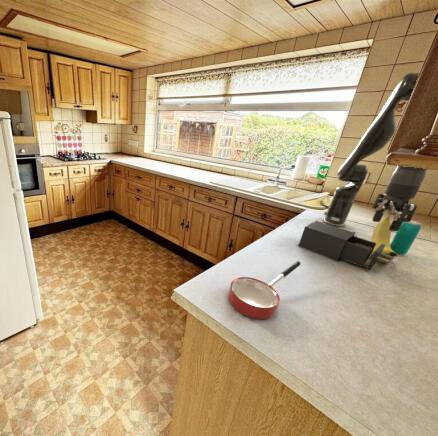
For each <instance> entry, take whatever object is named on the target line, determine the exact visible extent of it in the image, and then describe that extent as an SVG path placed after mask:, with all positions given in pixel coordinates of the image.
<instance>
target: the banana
mask: <svg viewBox="0 0 438 436" xmlns="http://www.w3.org/2000/svg"><path fill="white" fill-rule="evenodd" d="M392 215H393V214H392V212H391V211H390V210H387V215H386V216H385V218H384V219H381V220H380V222H377V224H376V225H375V226H374V229H373V231H372V234H371V240H370V241H371V242H374V243H376V245H375V247H374V249H373V252H372V255H373V254H374V252H375V251H376V249H377V248H378V247H379V246H380V245H381V244H384V245H385V247H384V249H383V251H382V253H383V254H386V255H389V256H392V257H394V256H396V257H397V258H398V259H399V257H398V256H399V255H397V254H396V252H394V251H392V249H391V247H390V244H391V235H392V231H390V230H389V228H390V226H391V224H392V222H391V217H392ZM380 257H381V258H384V259H387V260H389V261H390V260H391V259H392V258H389V257H386V256H383V255H380ZM377 262H380V263H381V264H387V265H391V264H390V263H389V262H386V261H383V260H380V259H378V261H377Z"/></svg>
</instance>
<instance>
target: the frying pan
mask: <svg viewBox="0 0 438 436" xmlns="http://www.w3.org/2000/svg"><path fill="white" fill-rule="evenodd" d="M300 266H301V262H300V261H299V260H296V261H295V262H294V263H292V264H291V265H290V266H289V267H287V268H286V269H285V270H284V271H282V272H280V274H279V275H278V276H277V277H275V279H273V280H272V281H271V282H270V283H269V284H268V283H266V282H264V281H263V280H260V279H257V278H254V277H248V276H241V277H236V278H234V279H233V280H232V281H231V283H230V286H229V291H228V296H227V297H228V301H229V302H230V304H231V306H232V307H233V308H234V309H235V310H236V311H238V312H239V313H240V314H242V315H244V316H246V317H248V318H251V319H252V318H253V319H256V320H268V319H271V318H272V317H274V316H275V314H276V312H277V309H278V308H279V304H280V300H281V298H280V295H279V293H278V292H277V290H275V288H273V287H274V286H275V285H276V284H277V283H279V281H281V280H282V279H285V278H286V277H287V276H288V275H290V274H291V273H293V271H294V270H296V269H297V268H298V267H300Z"/></svg>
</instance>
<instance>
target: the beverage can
mask: <svg viewBox="0 0 438 436" xmlns="http://www.w3.org/2000/svg"><path fill="white" fill-rule="evenodd" d="M421 229H422V223H421V222H419V221H415V220H412V219H411V221H410V222H403V223H402V224H401V226H400V228H399V230H398V231H396V232H395V234H394V236H393V239H392V240H391V241H390V247H391V249H392V251H394V252H396V254H397V256H400V257H404V256H405V255H406V254H408V253H409V250H411V249H410V248H411V247H412V245H413V243H414V241H415V240H416V238H417V237H418V234H419V232H420V231H421Z"/></svg>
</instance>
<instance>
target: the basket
mask: <svg viewBox="0 0 438 436" xmlns="http://www.w3.org/2000/svg"><path fill="white" fill-rule="evenodd" d="M371 241H372V240H368V239H364V238H361V237H359V236H356V235H354V236H352V237H351V238H350V239H348V240H347V241H346V243H345V245H344V247H343V250H342V252H341V254H340V257H339V258H340V260H344V261H347V262H350V263H352V264H354V265H357V266H360V267H363V266H364V265H365V264H366V263H367V262H368V260H369V259H370V260H369V262H368V264H367V266H366V268H365V270H366V271H369V272H371V270H372V269H373V268H374V267H375V265H376V264H377V263H378V262H379V261H378V259H380V260H383V261H386V262H389V263H390V264H389V265H392V266H393V265H395V264H396V263H397V261H398V259H399V257H398V258H397V257H396V256H394V257H392V256H389V255H386V254H383V253H382V251H383V249H384V247H385V245H384V244H381V245H380V246H379V247H378V248H377V249H376V251H375V252H374V254H373V253H372V252H373V249H374V247H375V245H376V243H374V242H371ZM355 243H359V244H362V245H365V246H368V247H371V248H372V250H371V249H368V248H365V247H362V246H359V245H356V244H355ZM370 250H371V252H370ZM369 252H370V254H369ZM368 254H369V256H368ZM380 255H383V256H386V257H389V258H392V259H391V260H390V261H389V260H387V259H384V258H381V257H380ZM367 256H368V258H367ZM366 258H367V259H366ZM365 260H366V261H365Z"/></svg>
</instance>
